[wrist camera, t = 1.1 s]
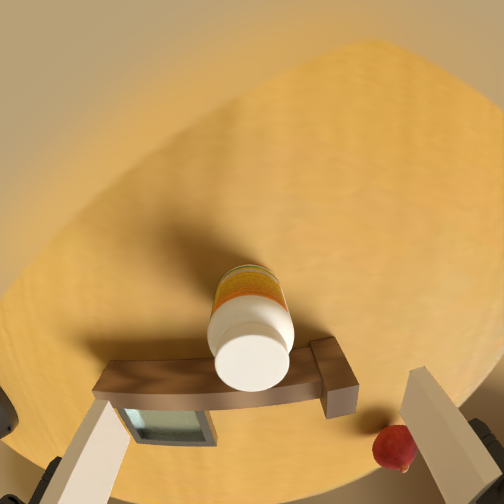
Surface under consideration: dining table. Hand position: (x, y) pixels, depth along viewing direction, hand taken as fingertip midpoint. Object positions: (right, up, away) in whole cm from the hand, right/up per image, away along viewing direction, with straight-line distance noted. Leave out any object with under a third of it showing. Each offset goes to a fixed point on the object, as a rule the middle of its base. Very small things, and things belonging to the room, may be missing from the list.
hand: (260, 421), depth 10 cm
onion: (+17, -16, +19) cm, 30 cm away
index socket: (-10, -10, +17) cm, 22 cm away
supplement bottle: (-1, +4, +14) cm, 14 cm away
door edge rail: (-4, -4, +15) cm, 16 cm away
